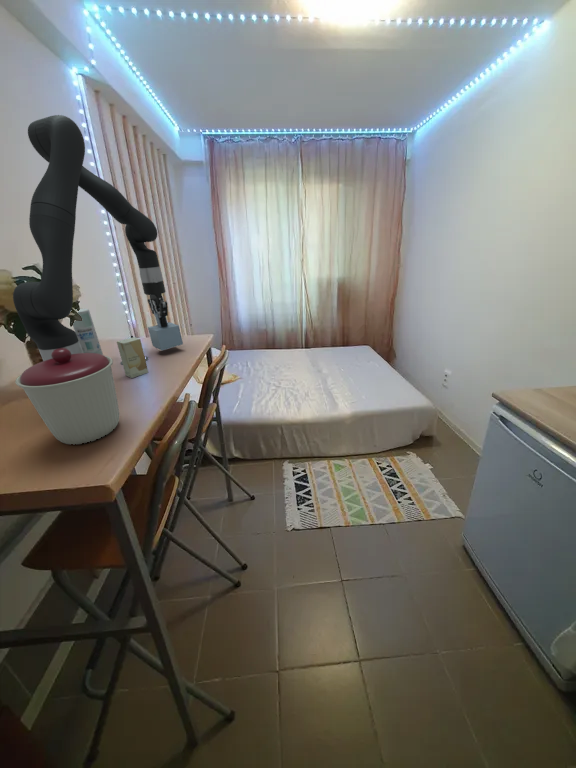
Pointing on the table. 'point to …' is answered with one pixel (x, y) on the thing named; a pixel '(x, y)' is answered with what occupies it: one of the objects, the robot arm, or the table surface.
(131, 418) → the table surface
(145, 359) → the rest mark
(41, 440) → the table surface
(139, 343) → the skincare box
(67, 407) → the canister
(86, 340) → the tall pale blue carton
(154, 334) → the blue stepped block
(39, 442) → the table surface
